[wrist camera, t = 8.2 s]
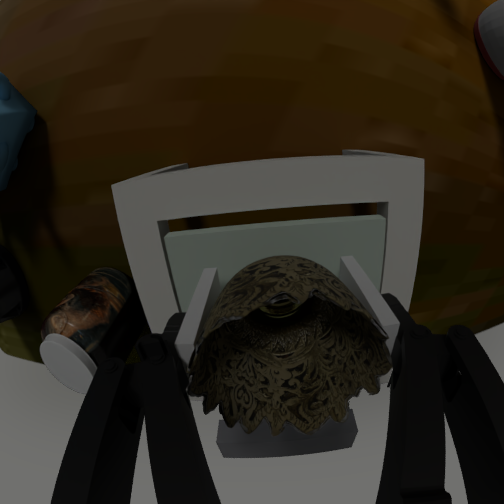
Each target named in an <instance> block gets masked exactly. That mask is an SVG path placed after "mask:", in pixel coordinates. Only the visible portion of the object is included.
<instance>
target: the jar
mask: <svg viewBox="0 0 504 504" xmlns="http://www.w3.org/2000/svg"><path fill="white" fill-rule="evenodd" d="M146 322H147V318H146V315H145V312H144V309H143V306H142V303H141V300H140V297H139V294H138V291H137V288H136V285H135V282H134V281H133V280H132V279H131V278H130V277H129V276H128V275H126V274H125V273H123V272H121V271H119V270H117V269H114V268H109V267H102V268H98V269H96V270H94V271H92V272H91V273H90V274H89V275H88V276H87V277H85V278H84V279H83V280H82V281H81V282H80V283H79V284H78V285H77V286H76V287H75V288H74V289H73V290H72V291H71V292H70V293H68V294H67V295H66V296H65V297H64V298H63V299H62V301H61V302H60V303H59V304H58V305H57V306H56V307H55V308H54V309H53V310H52V311H51V312H50V314H49V315H48V316H47V317H46V319H45V320H44V322H43V324H42V327H41V338H42V343H41V345H40V354H41V357H42V360H43V362H44V363H45V365H46V367H47V368H48V369H49V371H50V372H51V373H52V374H53V376H54V377H55V378H56V379H58V380H59V381H60V382H61V383H62V384H64V385H65V386H67V387H68V388H70V389H72V390H73V391H76V392H78V393H82V394H87V391H88V389H89V386H90V384H91V382H92V379H93V377H94V375H95V372H96V370H97V368H98V366H99V365H100V363H102V362H103V361H104V360H106V359H108V358H113V357H117V358H120V359H122V360H123V361H124V363H125V362H126V360H127V358H128V356H129V355H130V353H131V351H132V349H133V347H134V345H135V343H136V342H137V340H138V338H139V336H140V334H141V332H142V330H143V329H144V327H145V325H146Z"/></svg>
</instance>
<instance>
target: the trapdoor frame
mask: <svg viewBox="0 0 504 504" xmlns="http://www.w3.org/2000/svg"><path fill="white" fill-rule="evenodd" d="M342 151H343V155H342V156H310V157H292V158H277V159H265V160H254V161H244V162H235V163H226V164H218V165H211V166H203V167H197V168H190V169H188V163H186V164H179V165H174V166H169V167H166V168H162V169H159V170H156V171H152V172H149V173H146V174H143V175H140V176H137V177H134V178H131V179H128V180H125V181H122V182H119V183H116V184H113V185H111V186H112V192H113V197H114V202H115V207H116V211H117V216H118V221H119V225H120V229H121V233H122V238H123V242H124V246H125V249H126V253H127V257H128V261H129V264H130V268H131V271H132V275H133V278H134V281H135V285H136V288H137V291H138V294H139V297H140V300H141V303H142V306H143V309H144V312H145V315H146V318H147V321H148V324H149V326H150V329H151V332H152V333H159V334H162V333H163V332H164V328H165V327H166V324H167V322H168V320H169V318H170V317H171V316H172V315H173V314H175V313H179V312H182V310H181V307H180V303H179V299H178V295H177V291H176V288H175V284H174V280H173V275H172V271H171V267H170V263H169V259H168V254H167V250H166V245H165V240H164V237H165V236H166V235H167V234H168V233H169V232H170V231H169V226H168V220H169V219H177V218H185V217H193V216H202V215H211V214H220V213H230V212H240V211H250V210H261V209H273V208H285V207H298V206H312V205H328V204H345V203H366V202H377V215H381V216H382V217H384V218H385V219H386V226H385V242H384V254H383V265H382V274H381V283H380V290H379V293H380V294H385V293H390V294H392V295H393V296H395V297H397V299H398V300H399V301H400V303H401V305H403V307H404V308H405V309H406V311H407V312H408V310H409V305H410V301H411V296H412V291H413V285H414V280H415V274H416V268H417V261H418V254H419V246H420V237H421V227H422V215H423V198H424V159H421V158H415V157H409V156H403V155H396V154H389V153H382V152H374V151H365V150H342ZM392 369H393V368H391V370H390V371H389V372H388V373H387V374H386V375H384V376H381V377H379V378H380V384H383V383H388V380H389V377H390V374H391V372H392ZM186 390H187V389H186ZM189 399H190V400H193V401H203V396H201V397H199V398H198V397H191V396H189Z"/></svg>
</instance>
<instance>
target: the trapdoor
mask: <svg viewBox="0 0 504 504" xmlns="http://www.w3.org/2000/svg"><path fill="white" fill-rule="evenodd" d="M385 226H386V219H385V218H384V217H382V216H381V215H366V216H349V217H334V218H319V219H306V220H293V221H280V222H268V223H257V224H246V225H235V226H225V227H215V228H205V229H195V230H186V231H177V232H169V233H168V234H167V235H166V236H165V237H164V240H165V245H166V250H167V254H168V259H169V263H170V267H171V271H172V275H173V280H174V284H175V288H176V291H177V295H178V299H179V303H180V307H181V310H182V312H187V310H188V307H189V305H190V302H191V300H192V297H193V295H194V292H195V290H196V287H197V285H198V282H199V280H200V277H201V275H202V272H203V270H204V268H216V267H217V270H218V276H219V282H220V287H221V291H222V290H223V288H224V287H225V285H226V284H227V283H228V282H229V281H230V280H231V278H232V277H233V276H234V275H235V274H236V273H238V272H239V271H240V270H241V269H243V268H244V267H246V266H247V265H249V264H251V263H253V262H255V261H258V260H260V259H263V258H267V257H272V256H280V255H291V256H299V257H303V258H307V259H309V260H312V261H314V262H316V263H318V264H320V265H322V266H324V267H325V268H326V269H328V270H329V271H331V272H332V273H333V274H334V275H335V276H336V277H338V278H339V272H340V257H342V256H353V257H354V258H355V260H356V261H357V262H358V264H359V265H360V267H361V268H362V269H363V271H364V272H365V273H366V275H367V276H368V277H369V279H370V280H371V282H372V283H373V284H374V286H375V287H376V289H377V290H378V291H379V290H380V283H381V274H382V265H383V254H384V242H385ZM262 422H263V423H262V424H261V425H260V426H259V427H258V428H257V429H256V430H255V431H254V432H252V433H250V434H247V433H245V432H244V430H243V429H242V427H241V426H240V425H239V421H238V423H236V424H235V425H234V427H233V428H229V427H227V425H226V424H225V422H224V420H219V426H218V434H217V441H216V443H217V445H218V447H219V449H220V451H221V453H222V455H223V457H224V458H225V457H226V458H264V457H282V456H294V455H304V454H312V453H320V452H326V451H333V450H338V449H344V448H349V447H352V444H353V442H354V440H355V437H356V435H357V432H358V429H357V425H356V421H355V418H354V414H353V410H352V409H349V417H348V419H347V420H346V421H345V422H344V423H336V422H334V421H333V420H331V419H330V420H328V421H327V423H326V424H325V425H324V426H323V427H322V428H321V429H320V430H318V431H317V432H315V433H314V434H312V435H306V434H303V433H301V432H298V431H297V430H295V429H294V427H292V426H291V425H290V426H285V425H288V424H285V425H284V426H283V427H285V429H284V431H283V432H281V433H280V434H279V435H277V436H274V437H272V435H271V434H270V431H269V427H268V424H267V423H266V421H265V419H264V420H263V421H262Z"/></svg>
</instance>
